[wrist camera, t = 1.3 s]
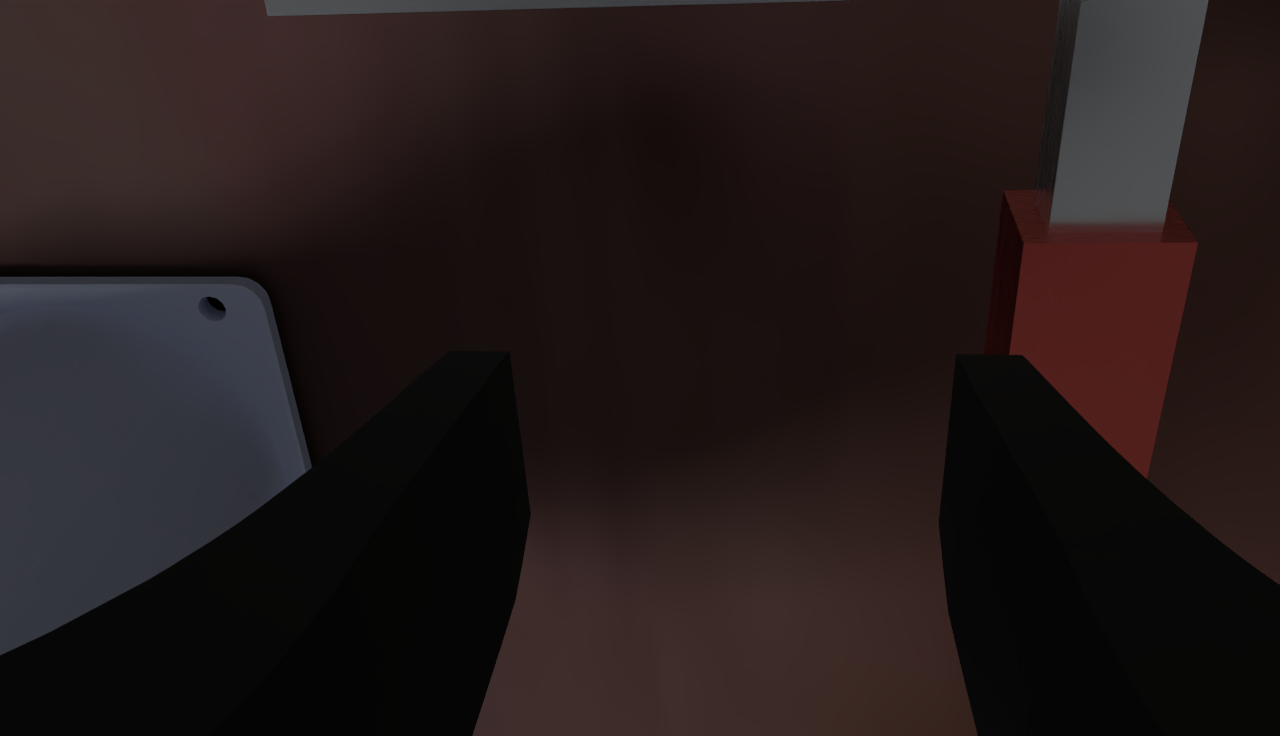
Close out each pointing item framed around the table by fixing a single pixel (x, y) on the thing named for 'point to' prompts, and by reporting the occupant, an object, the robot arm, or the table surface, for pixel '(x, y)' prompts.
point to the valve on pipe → (463, 5)
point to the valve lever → (1104, 219)
